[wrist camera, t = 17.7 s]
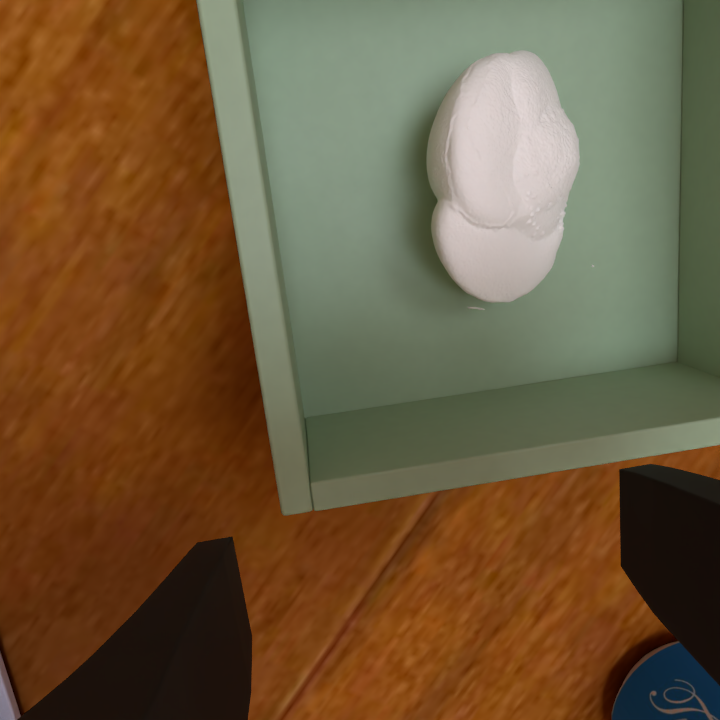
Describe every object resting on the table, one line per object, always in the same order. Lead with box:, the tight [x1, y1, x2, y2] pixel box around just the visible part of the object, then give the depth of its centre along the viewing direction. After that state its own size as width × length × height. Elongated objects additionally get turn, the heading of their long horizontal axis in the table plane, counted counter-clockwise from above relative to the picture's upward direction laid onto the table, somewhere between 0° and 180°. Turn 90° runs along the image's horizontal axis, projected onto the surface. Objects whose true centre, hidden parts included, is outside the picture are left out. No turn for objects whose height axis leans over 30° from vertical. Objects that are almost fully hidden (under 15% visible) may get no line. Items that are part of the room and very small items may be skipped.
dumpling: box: [426, 50, 594, 310], centre depth 16 cm, size 7×5×4 cm
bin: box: [196, 0, 720, 516], centre depth 16 cm, size 15×15×6 cm
